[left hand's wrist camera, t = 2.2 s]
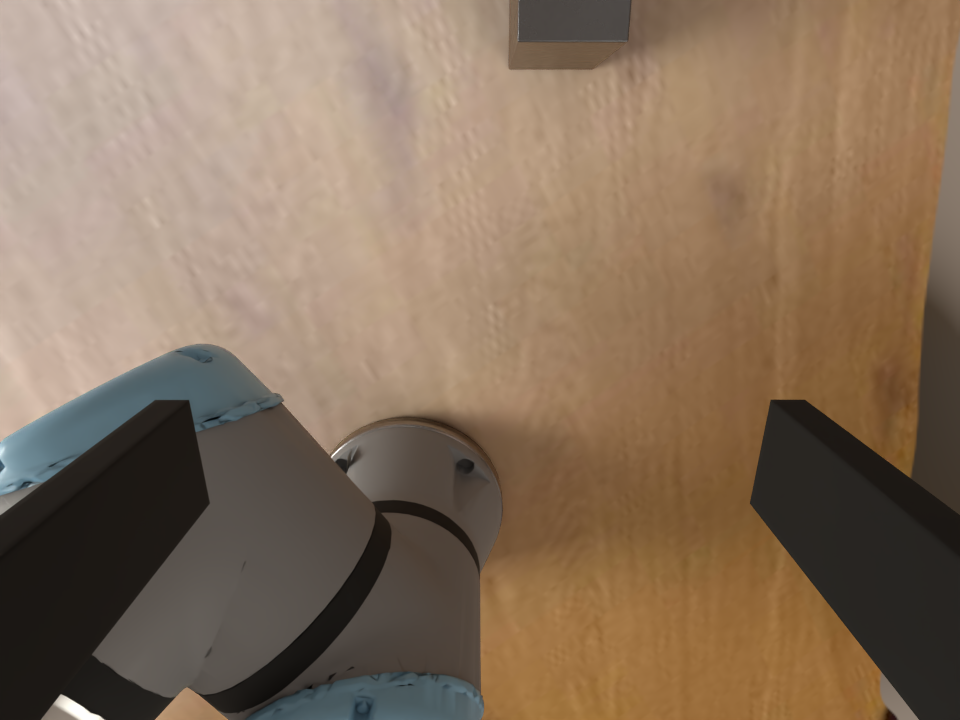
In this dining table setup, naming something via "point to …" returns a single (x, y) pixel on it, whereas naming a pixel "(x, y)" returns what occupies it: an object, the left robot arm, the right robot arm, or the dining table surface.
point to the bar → (566, 32)
